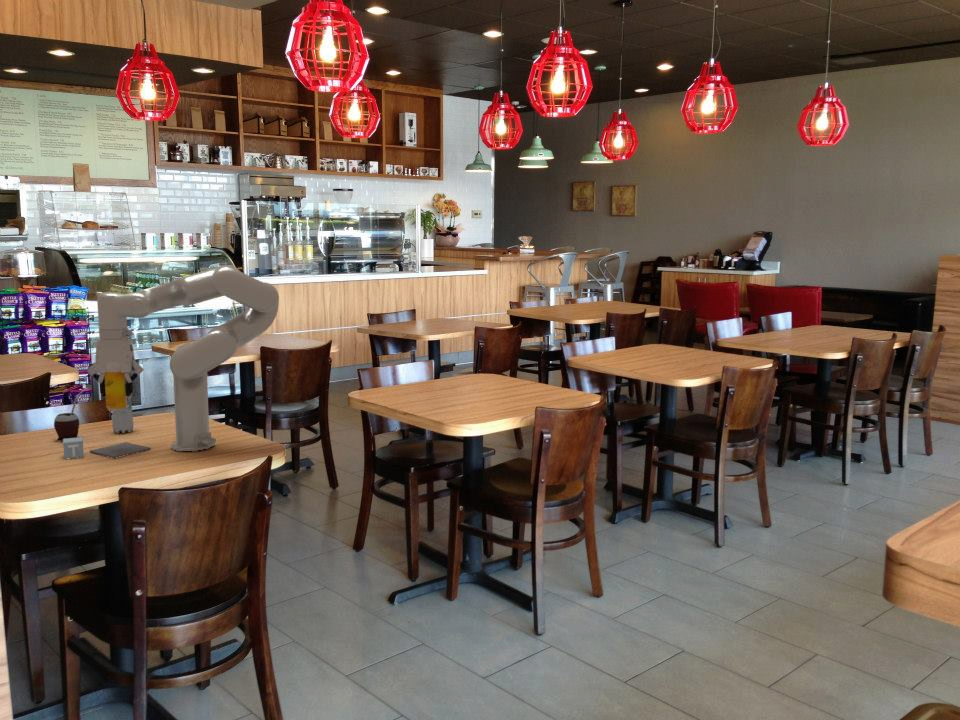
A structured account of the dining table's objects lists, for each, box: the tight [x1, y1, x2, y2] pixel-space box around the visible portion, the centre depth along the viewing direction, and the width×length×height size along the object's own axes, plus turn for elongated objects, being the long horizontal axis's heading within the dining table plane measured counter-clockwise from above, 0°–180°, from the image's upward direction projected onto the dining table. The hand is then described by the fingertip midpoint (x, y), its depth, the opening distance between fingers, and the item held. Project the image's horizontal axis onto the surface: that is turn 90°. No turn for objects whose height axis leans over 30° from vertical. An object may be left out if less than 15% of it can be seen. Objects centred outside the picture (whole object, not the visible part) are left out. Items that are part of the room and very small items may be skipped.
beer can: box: [104, 361, 129, 412], centre depth 237 cm, size 6×6×15 cm
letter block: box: [62, 436, 85, 460], centre depth 234 cm, size 5×5×5 cm
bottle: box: [111, 393, 134, 434], centre depth 262 cm, size 7×7×20 cm
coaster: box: [89, 441, 152, 459], centre depth 240 cm, size 12×12×1 cm
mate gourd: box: [53, 390, 84, 443], centre depth 253 cm, size 8×8×15 cm
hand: (116, 395), depth 238 cm, fingers closed on beer can, 6 cm apart
